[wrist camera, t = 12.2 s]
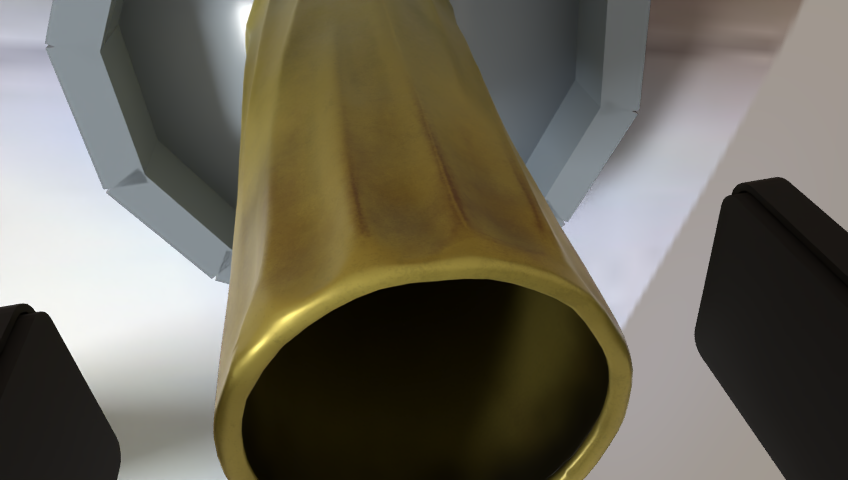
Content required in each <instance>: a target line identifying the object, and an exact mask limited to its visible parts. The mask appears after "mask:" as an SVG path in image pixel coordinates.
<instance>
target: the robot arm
mask: <svg viewBox="0 0 848 480" xmlns="http://www.w3.org/2000/svg"><path fill="white" fill-rule="evenodd" d="M695 342H696V346H697V349H698V351H699V353H700V355H701V357H702V358H703V360H704V361H705V363H706V364H707V365H708V367H709V368H710V370H711V371H712V373H713V374H714V376H715V377H716V379H717V380H718V381H719V383H720V384H721V386H722V387H723V388H724V390H725V392H726V393H727V395H728V396H729V397H730V399H731V400H732V402H733V403H734V405H735V406H736V408H737V409H738V411H739V412H740V413H741V415H742V416H743V418H744V419H745V421H746V422H747V424H748V425H749V426H750V428H751V429H752V431H753V432H754V434H755V435H756V436H757V438H758V440H759V441H760V442H761V444H762V445H763V447H764V448H765V450H766V451H767V452H768V454H769V456H770V457H771V458H772V460H773V461H774V463H775V464H776V466H777V467H778V469H779V470H780V471H781V473H782V474H783V476H784V477H785V479H786V480H848V232H847V231H846V230H844V229H843V228H842V227H841V226H839V224H837V223H836V222H835V221H834V220H833V219H832V218H830V217H829V216H828V215H827V214H826V213H824V211H822V210H821V209H820V208H819V207H818V206H816V205H815V204H814V203H813V202H812V201H811V200H810V199H808V198H807V197H806V196H805V195H804V194H803V193H801V192H800V191H799V190H798V189H797V188H796V187H794V186H793V185H792V184H791V183H790V182H789V181H787V180H786V179H784V178H780V177H775V178H769V179H763V180H757V181H751V182H745V183H741V184H738V185H737V186H736V187H735V188H734V190H733V192H732V195H729V196H727V197H726V198H725V199H724V200H723V202H722V205H721V210H720V214H719V219H718V224H717V228H716V234H715V238H714V243H713V247H712V252H711V257H710V261H709V266H708V271H707V275H706V280H705V285H704V290H703V294H702V299H701V303H700V308H699V313H698V317H697V322H696V327H695ZM120 462H121V453H120V446H119V442H118V440H117V437H116V435H115V434H114V432H113V430H112V428H111V426H110V425H109V423H108V421H107V419H106V417H105V415H104V414H103V412H102V410H101V408H100V406H99V405H98V403H97V401H96V399H95V397H94V396H93V394H92V392H91V390H90V388H89V386H88V385H87V383H86V381H85V379H84V377H83V376H82V374H81V372H80V370H79V368H78V366H77V365H76V363H75V361H74V359H73V357H72V356H71V354H70V352H69V350H68V348H67V346H66V345H65V343H64V341H63V339H62V337H61V336H60V334H59V332H58V330H57V328H56V326H55V325H54V323H53V321H52V319H51V318H50V316H49V315H48V314H47V313H45V312H35V311H34V309H33V308H32V307H31V306H29V305H28V304H23V303H22V304H16V305H10V306H4V307H0V480H117V477H118V473H119V468H120Z"/></svg>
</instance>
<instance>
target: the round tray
mask: <svg viewBox="0 0 848 480" xmlns="http://www.w3.org/2000/svg"><path fill="white" fill-rule="evenodd" d="M449 1H450V3H451V5H452V7H453V10H454V15H455V19H456V23H457V25H458V27H459V29H460V30H461V32H462V34H463V36H464V37H465V39H466V41H467V44H468V46H469V48H470V51H471V53H472V55H473V58H474V60H475V62H476V64H477V66H478V68H479V70H480V72H481V75H482V77H483V80H484V82H485V84H486V87H487V89H488V91H489V94H490V96H491V98H492V100H493V103H494V105H495V107H496V109H497V112H498V114H499V116H500V118H501V120H502V123H503V125H504V127H505V129H506V131H507V133H508V135H509V137H510V139H511V141H512V142H513V144H514V146H515V148H516V150H517V151H518V153H519V155H520V157H521V158H522V160H523V162H524V163H525V165H526V167H527V169H528V170H529V172H530V174H531V176H532V177H533V179H534V181H535V183H536V184H537V186H538V188H539V190H540V191H541V193H542V195H543V196H544V198H545V200H546V202H547V204H548V205H549V207H550V209H551V211H552V212H553V214H554V216H555V218H556V219H557V221H558V223H559V225H560V226H561V227H562V226H564V225H565V223H564V222H563V220H564V221H567V222H568V221H569V219H570V218H571V216H572V215H573V213H574V212H575V210H576V209H577V207H578V205H579V204H580V202H581V201H582V199H583V198H584V196H585V195H586V193H587V192H588V190H589V189H590V187H591V185H592V184H593V182H594V181H595V179H596V178H597V176H598V175H599V173H600V172H601V170H602V169H603V167H604V165H605V164H606V162H607V161H608V159H609V158H610V156H611V155H612V153H613V152H614V150H615V149H616V147H617V145H618V144H619V142H620V141H621V139H622V138H623V136H624V135H625V133H626V132H627V130H628V128H629V127H630V125H631V124H632V122H633V121H634V119H635V118H636V116H637V115H638V114H637V113H636V112H635V111H637V110H639V108H640V99H641V89H642V80H643V70H644V61H645V51H646V41H647V32H648V22H649V13H650V3H651V0H449ZM253 2H254V0H53V2H52V8H51V13H50V19H49V24H48V30H47V35H46V41H45V44H48V46H47V47H46V51H47V53H48V55H49V58H50V60H51V63H52V65H53V68H54V70H55V72H56V75H57V77H58V80H59V82H60V85H61V87H62V89H63V92H64V94H65V97H66V99H67V102H68V104H69V106H70V109H71V111H72V114H73V116H74V119H75V121H76V123H77V126H78V128H79V131H80V133H81V136H82V138H83V140H84V143H85V145H86V148H87V150H88V153H89V155H90V157H91V160H92V162H93V165H94V167H95V170H96V172H97V174H98V177H99V179H100V182H101V184H102V187H103V189H108V190H107V192H106V193H107V194H108V195H110V196H111V197H112V198H113V199H114V200H116V201H117V202H118V203H119V204H121V205H122V206H123V207H124V208H126V209H127V210H128V211H129V212H130V213H132V214H133V215H134V216H135V217H137V218H138V219H139V220H140V221H141V222H143V223H144V224H145V225H146V226H148V227H149V228H150V229H151V230H153V231H154V232H155V233H156V234H157V235H159V236H160V237H161V238H162V239H164V240H165V241H166V242H167V243H168V244H170V245H171V246H172V247H173V248H175V249H176V250H177V251H178V252H180V253H181V254H182V255H183V256H184V257H186V258H187V259H188V260H189V261H191V262H192V263H193V264H194V265H195V266H197V267H198V268H199V269H200V270H202V271H203V272H204V273H205V274H207V275H208V276H209V277H210V278H211V279H212V278H213V277H215V276H216V279H215V281H219V282H223V283H227V284H230V274H231V261H232V249H233V238H234V227H235V217H236V207H237V196H238V175H239V154H240V140H241V117H242V98H243V80H244V68H245V62H246V47H245V31H246V23H247V20H248V17H249V14H250V11H251V8H252V5H253Z"/></svg>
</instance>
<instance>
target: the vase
mask: <svg viewBox="0 0 848 480" xmlns="http://www.w3.org/2000/svg"><path fill="white" fill-rule="evenodd" d="M245 47H246V62H245V68H244V80H243V98H242V117H241V140H240V154H239V175H238V196H237V207H236V217H235V227H234V238H233V249H232V261H231V274H230V284H229V293H228V301H227V309H226V316H225V323H224V330H223V338H222V345H221V354H220V362H219V371H218V381H217V391H216V399H215V409H214V424H213V433H214V441H215V446H216V451H217V456H218V459H219V461H220V464H221V466H222V469H223V472H224V474H225V475H226V477H227V479H228V480H583V479H584V478H585V477H586V476H587V475H588V474H589V473H590V471H591V470H592V469H593V467H594V466H595V465H596V464H597V463H598V461H599V460H600V458H601V457H602V455H603V454H604V452H605V451H606V449H607V448H608V446H609V445H610V443H611V442H612V440H613V438H614V437H615V435H616V434H617V432H618V430H619V428H620V426H621V424H622V422H623V419H624V417H625V414H626V410H627V406H628V402H629V397H630V391H631V387H632V374H633V368H632V362H631V356H630V352H629V349H628V346H627V343H626V341H625V338H624V335H623V333H622V331H621V329H620V327H619V325H618V323H617V321H616V319H615V317H614V315H613V314H612V312H611V310H610V308H609V307H608V305H607V303H606V301H605V300H604V298H603V296H602V295H601V293H600V291H599V289H598V288H597V286H596V284H595V283H594V281H593V279H592V277H591V276H590V274H589V272H588V271H587V269H586V267H585V266H584V264H583V262H582V261H581V259H580V257H579V256H578V254H577V252H576V251H575V249H574V248H573V246H572V244H571V243H570V241H569V240H568V238H567V236H566V235H565V233H564V231H563V230H562V228H561V226H560V225H559V223H558V221H557V219H556V218H555V216H554V214H553V212H552V211H551V209H550V207H549V205H548V204H547V202H546V200H545V198H544V196H543V195H542V193H541V191H540V190H539V188H538V186H537V184H536V183H535V181H534V179H533V177H532V176H531V174H530V172H529V170H528V169H527V167H526V165H525V163H524V162H523V160H522V158H521V157H520V155H519V153H518V151H517V150H516V148H515V146H514V144H513V142H512V141H511V139H510V137H509V135H508V133H507V131H506V129H505V127H504V125H503V123H502V120H501V118H500V116H499V114H498V112H497V109H496V107H495V105H494V103H493V100H492V98H491V96H490V94H489V91H488V89H487V87H486V84H485V82H484V80H483V77H482V75H481V72H480V70H479V68H478V66H477V64H476V62H475V60H474V58H473V55H472V53H471V51H470V48H469V46H468V44H467V41H466V39H465V37H464V36H463V34H462V32H461V30H460V29H459V27H458V25H457V23H456V19H455V15H454V10H453V7H452V5H451V3H450V1H449V0H254V2H253V5H252V8H251V11H250V14H249V17H248V20H247V23H246V31H245Z"/></svg>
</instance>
